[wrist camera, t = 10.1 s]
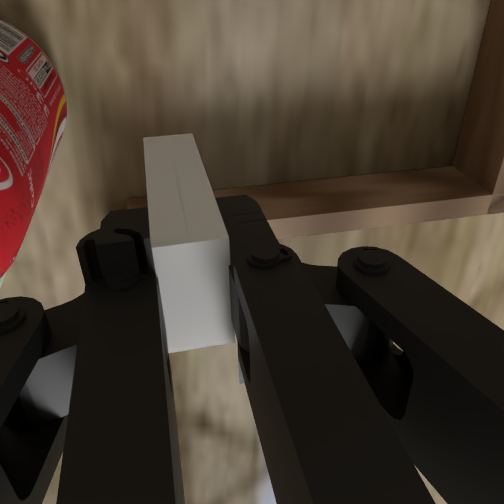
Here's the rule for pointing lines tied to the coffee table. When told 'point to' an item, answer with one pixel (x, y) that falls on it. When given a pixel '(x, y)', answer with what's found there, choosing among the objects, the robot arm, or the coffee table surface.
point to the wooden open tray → (405, 182)
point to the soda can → (25, 133)
